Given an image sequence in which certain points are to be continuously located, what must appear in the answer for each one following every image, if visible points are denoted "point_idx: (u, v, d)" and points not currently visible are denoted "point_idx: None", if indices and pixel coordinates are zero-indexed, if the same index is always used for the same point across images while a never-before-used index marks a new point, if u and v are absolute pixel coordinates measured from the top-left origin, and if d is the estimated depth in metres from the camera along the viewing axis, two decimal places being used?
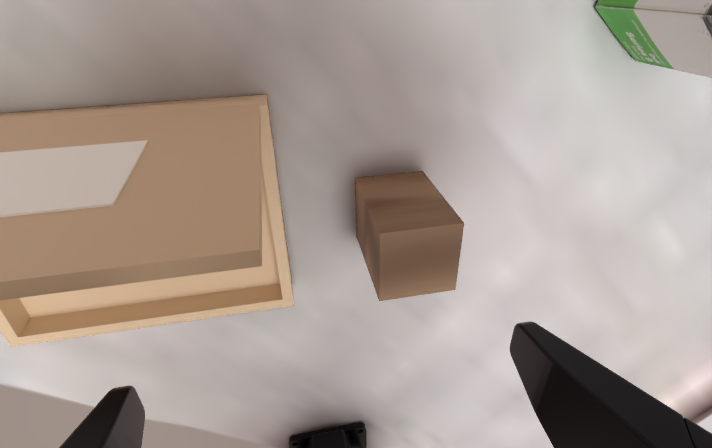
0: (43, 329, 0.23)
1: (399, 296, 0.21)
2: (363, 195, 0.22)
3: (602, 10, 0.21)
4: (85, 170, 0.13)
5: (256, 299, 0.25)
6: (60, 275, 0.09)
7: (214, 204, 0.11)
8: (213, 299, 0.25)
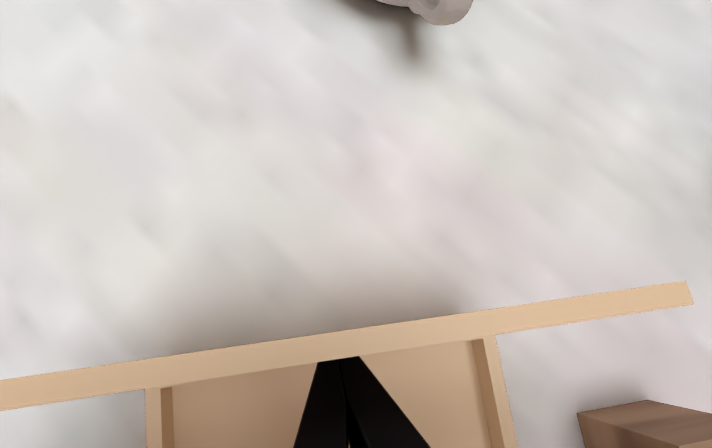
0: None
1: None
2: (607, 423, 0.19)
3: None
4: None
5: None
6: (502, 308, 0.08)
7: None
8: None
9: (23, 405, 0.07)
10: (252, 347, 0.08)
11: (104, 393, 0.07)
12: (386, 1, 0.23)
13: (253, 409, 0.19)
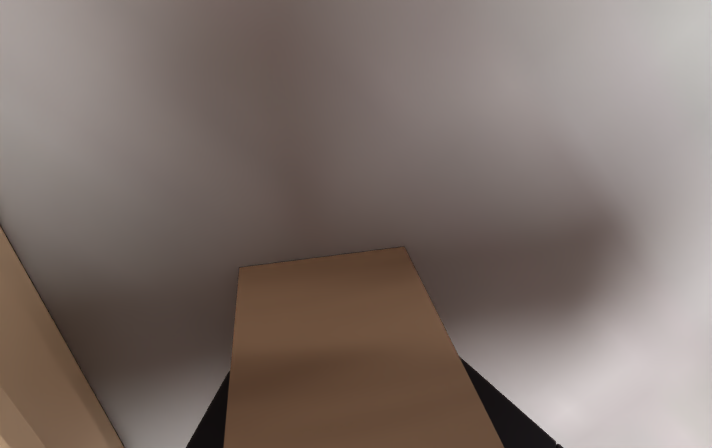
0: None
1: None
2: (235, 337, 0.08)
3: None
4: None
5: None
6: None
7: None
8: None
9: None
10: None
11: None
12: None
13: None
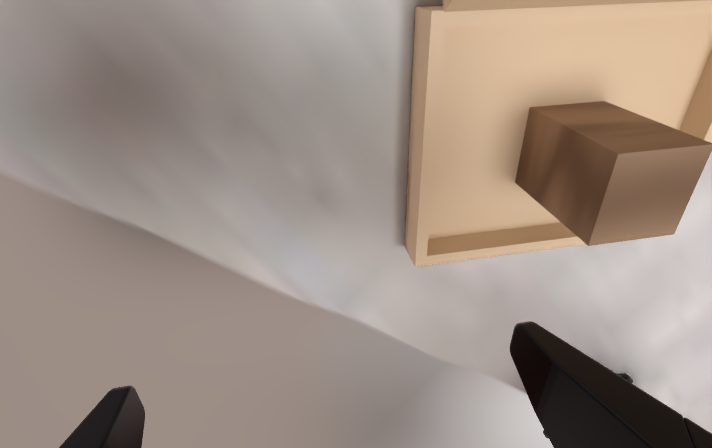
0: (444, 249, 0.22)
1: (611, 240, 0.17)
2: (556, 121, 0.18)
3: None
4: None
5: None
6: None
7: None
8: None
9: None
10: None
11: None
12: None
13: (504, 60, 0.19)
